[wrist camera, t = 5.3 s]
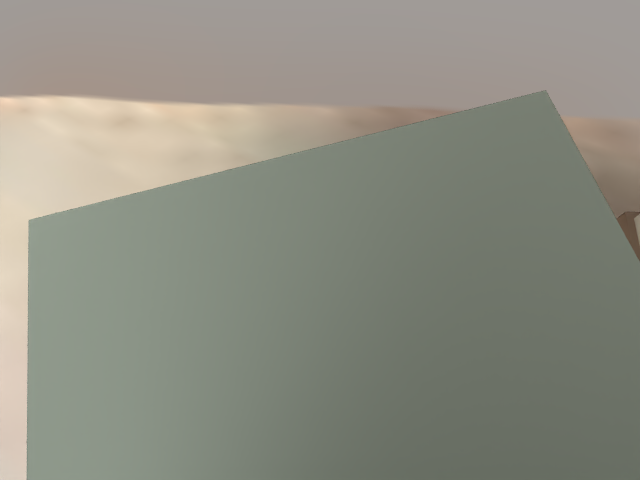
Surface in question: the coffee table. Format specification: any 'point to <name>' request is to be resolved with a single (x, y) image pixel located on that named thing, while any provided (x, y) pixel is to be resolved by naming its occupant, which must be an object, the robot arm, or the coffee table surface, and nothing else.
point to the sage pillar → (345, 316)
